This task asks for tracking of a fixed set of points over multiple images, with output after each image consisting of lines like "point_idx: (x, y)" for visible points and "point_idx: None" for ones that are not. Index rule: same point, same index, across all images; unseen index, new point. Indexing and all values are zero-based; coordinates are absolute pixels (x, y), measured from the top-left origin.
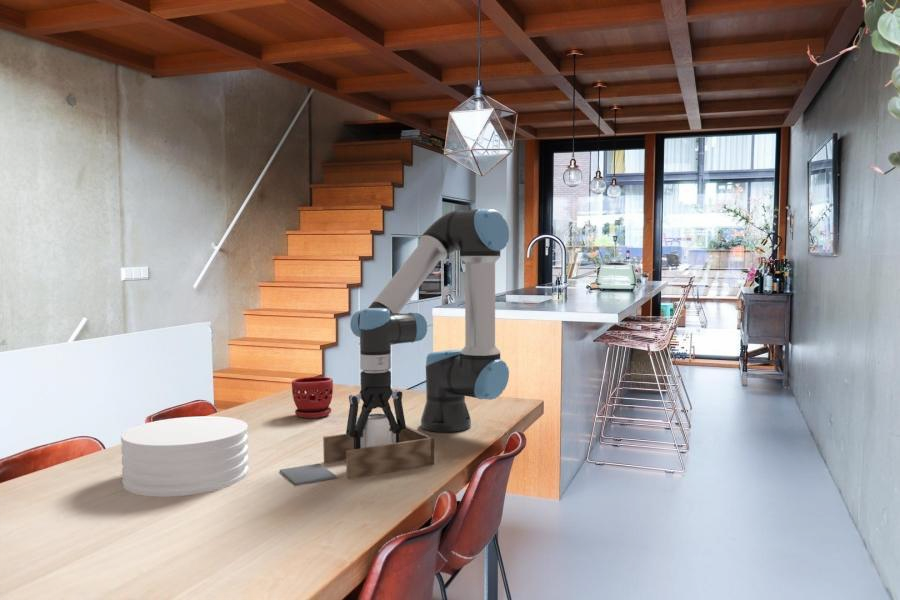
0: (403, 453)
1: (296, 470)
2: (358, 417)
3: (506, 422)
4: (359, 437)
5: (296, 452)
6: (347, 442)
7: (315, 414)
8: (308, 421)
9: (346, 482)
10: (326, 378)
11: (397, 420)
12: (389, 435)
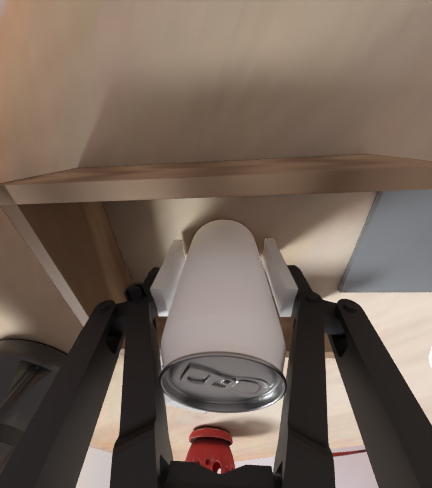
0: (163, 170)
1: (417, 272)
2: (204, 412)
3: None
4: (306, 294)
5: None
6: None
7: (214, 433)
8: (225, 423)
9: (396, 121)
10: None
11: (115, 350)
12: (178, 284)
